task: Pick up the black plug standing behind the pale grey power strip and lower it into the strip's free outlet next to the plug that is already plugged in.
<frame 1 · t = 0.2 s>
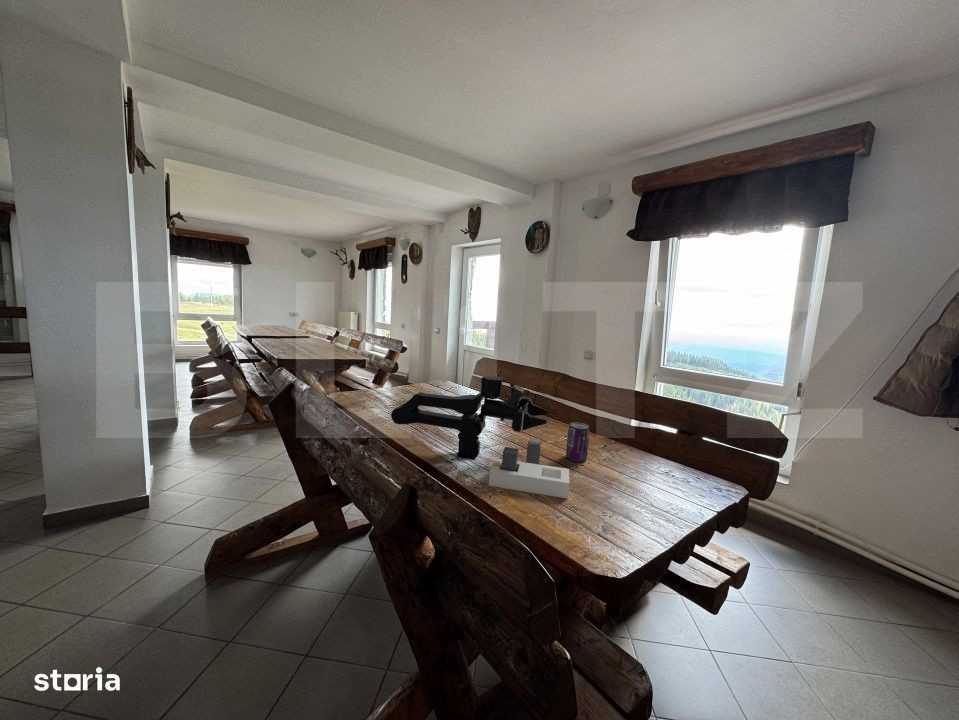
hand: (547, 416, 116), 17 cm above the table, tool horizontal, fingers open, 9 cm apart
beverage can: (576, 459, 126), on the table
plug: (532, 467, 118), on the table
power strip: (528, 484, 106), on the table
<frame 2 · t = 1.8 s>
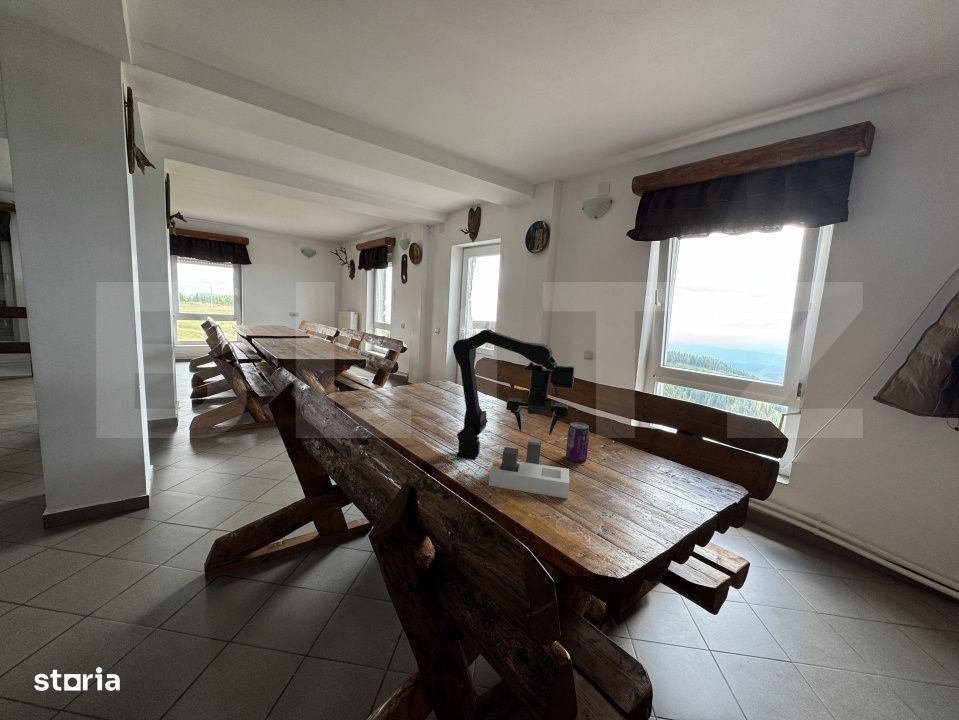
hand: (535, 433, 116), 11 cm above the table, tool pointing down, fingers open, 9 cm apart
nothing on the table moved.
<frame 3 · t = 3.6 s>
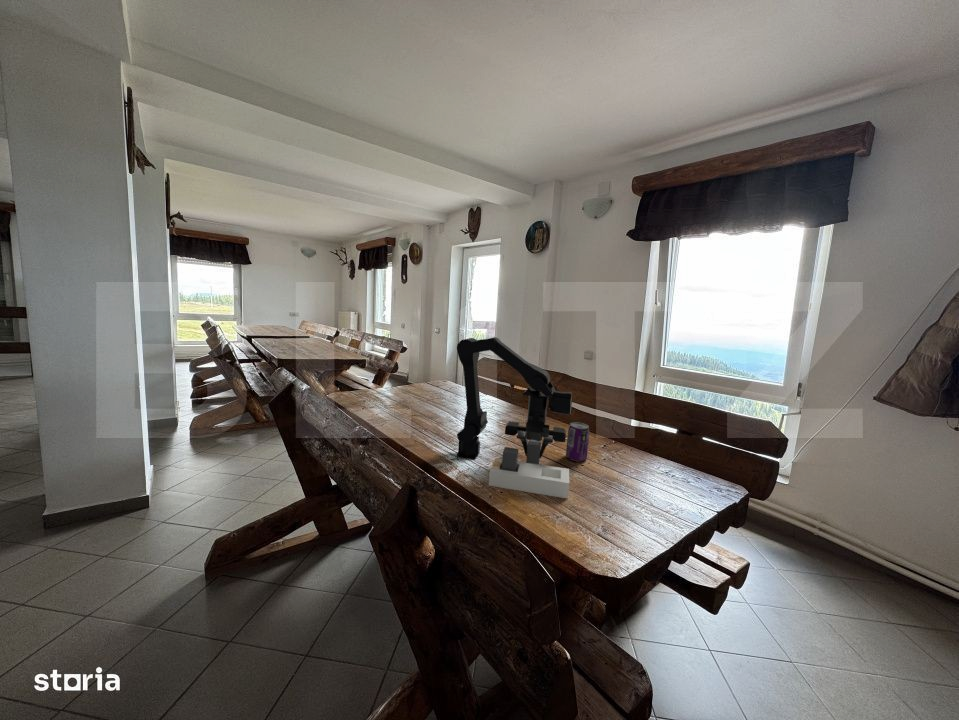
hand: (533, 456, 117), 3 cm above the table, tool pointing down, fingers closed on plug, 4 cm apart
plug: (532, 467, 118), on the table, touching gripper
everything else where it was.
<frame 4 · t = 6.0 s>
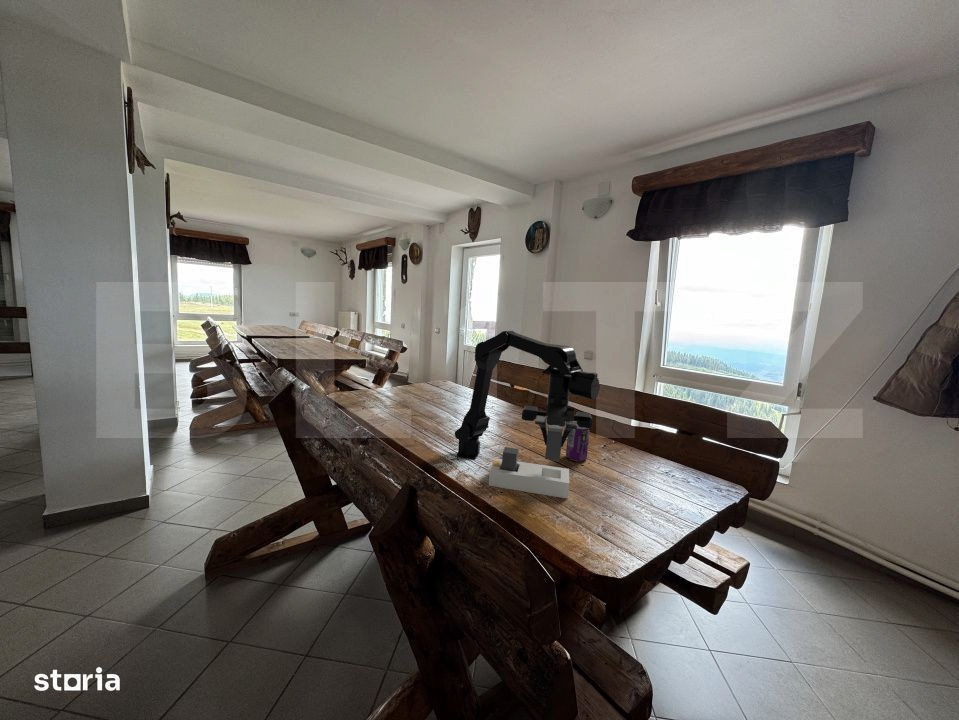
hand: (553, 445, 103), 13 cm above the table, tool pointing down, fingers closed on plug, 4 cm apart
plug: (552, 457, 104), point 9 cm above the table, touching gripper
everything else where it was.
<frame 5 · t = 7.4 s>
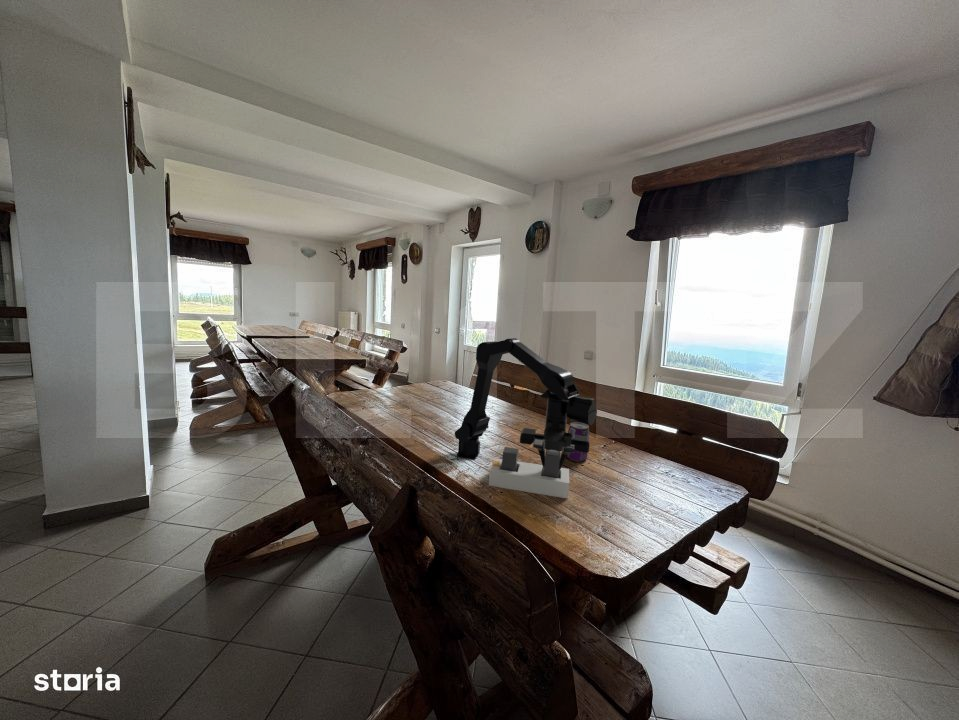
hand: (551, 468, 104), 6 cm above the table, tool pointing down, fingers closed on plug, 4 cm apart
plug: (550, 479, 105), point 2 cm above the table, touching gripper
everything else where it was.
when the fingers open (6 cm above the table, at t = 8.5 s): plug stays where it is, resting on power strip.
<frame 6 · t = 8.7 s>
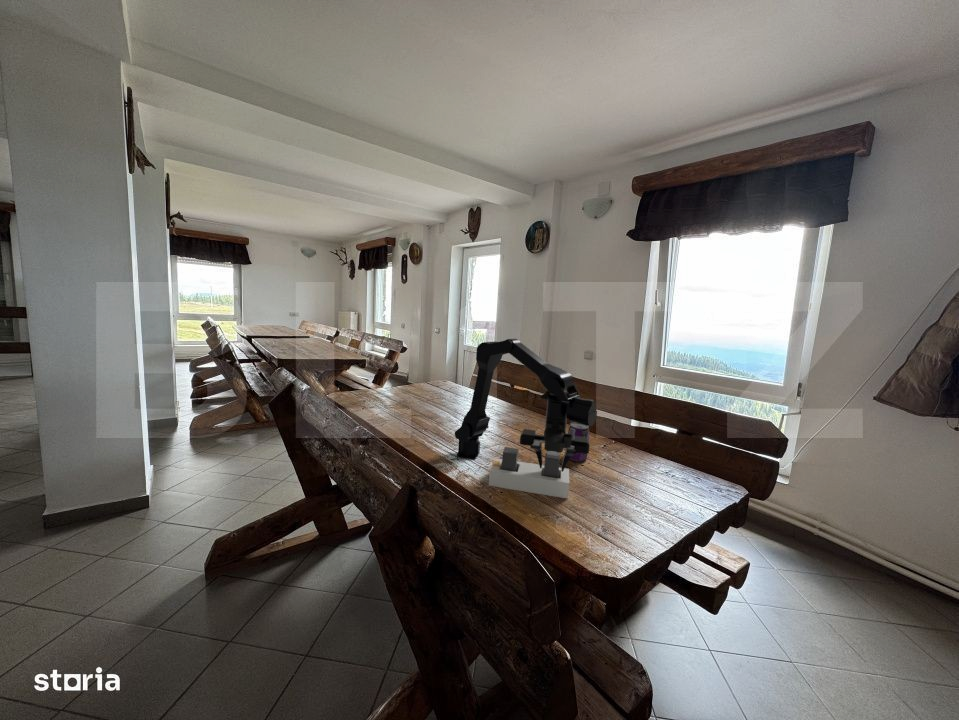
hand: (551, 469, 104), 6 cm above the table, tool pointing down, fingers open, 6 cm apart
plug: (550, 482, 105), point 1 cm above the table, touching power strip
everything else where it was.
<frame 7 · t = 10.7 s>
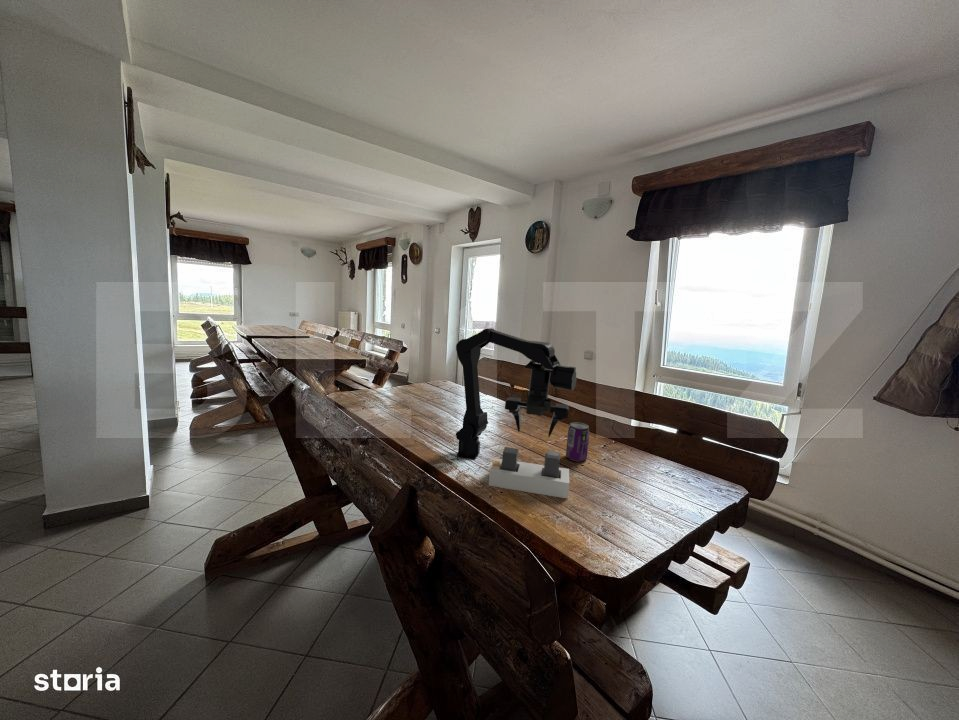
hand: (533, 434, 112), 12 cm above the table, tool pointing down, fingers open, 9 cm apart
nothing on the table moved.
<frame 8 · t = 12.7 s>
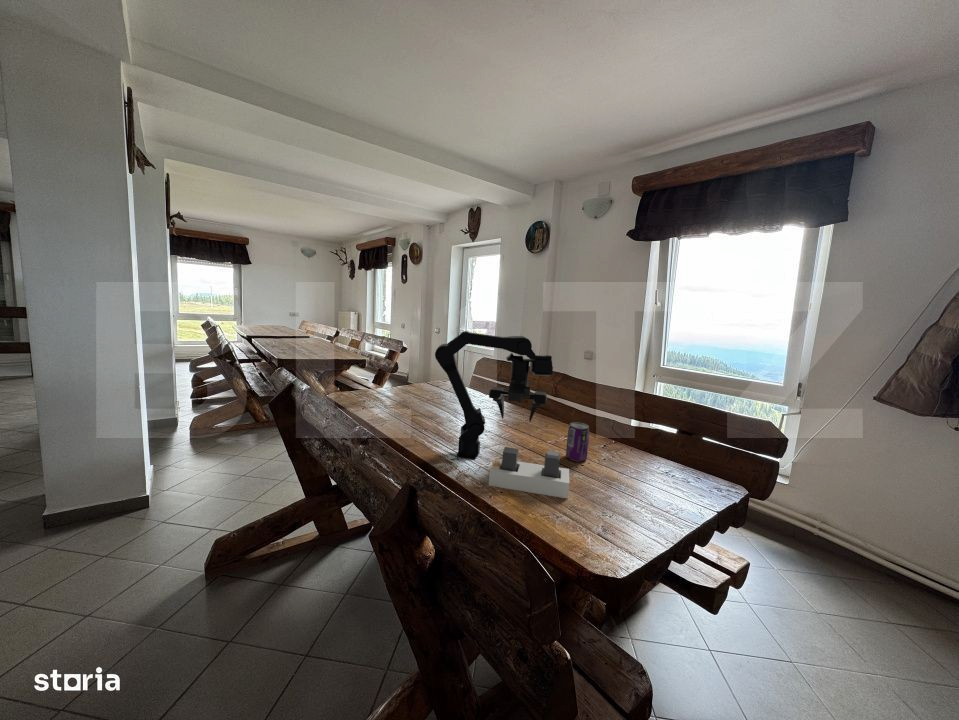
hand: (516, 419, 123), 13 cm above the table, tool pointing down, fingers open, 9 cm apart
nothing on the table moved.
at the end: plug 0.1 cm from the target spot on the power strip, point 1.5 cm above the power strip's base; plug tilted 0°; the gripper is holding nothing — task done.
